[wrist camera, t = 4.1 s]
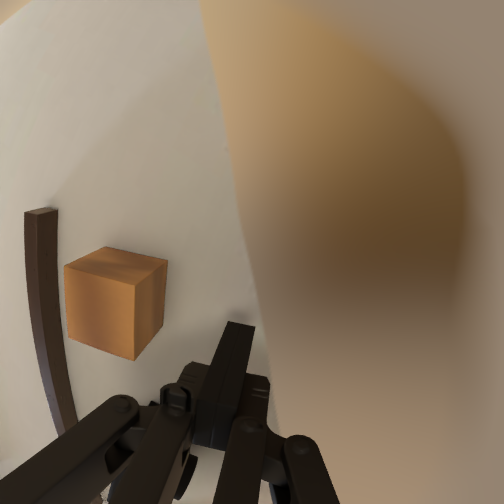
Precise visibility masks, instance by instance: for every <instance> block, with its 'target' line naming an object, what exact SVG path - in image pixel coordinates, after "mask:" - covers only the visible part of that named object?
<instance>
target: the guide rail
mask: <svg viewBox="0 0 504 504" xmlns="http://www.w3.org/2000/svg"><path fill="white" fill-rule="evenodd" d="M57 213H58V210H56V209H51V208H40V209H36V210H31V211H27V212H24V244H25V267H26V281H27V292H28V301H29V310H30V317H31V324H32V331H33V337H34V343H35V348H36V354H37V359H38V364H39V368H40V373H41V377H42V381H43V386H44V390H45V393H46V397H47V401H48V405H49V408H50V412H51V415H52V418H53V422H54V425H55V428H56V431H57V434H58V437H59V436H61V435H62V434H63V433H65V432H66V431H67V430H69V429H70V428H71V427H73V426H74V425H75V424H77V423H78V420H77V416H76V412H75V407H74V403H73V398H72V393H71V388H70V383H69V377H68V372H67V366H66V359H65V353H64V345H63V338H62V329H61V319H60V308H59V295H58V276H57ZM102 503H103V501H102V498H101V496H100V494H99V495H98V496H97V497H96V498H95V499H94V500H93V501H92V502H91V503H90V504H102Z"/></svg>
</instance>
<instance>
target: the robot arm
mask: <svg viewBox="0 0 504 504" xmlns="http://www.w3.org/2000/svg"><path fill="white" fill-rule="evenodd" d="M254 331H255V327H254V326H249V325H245V324H240V323H235V322H230V321H228V322H227V325H226V327H225V330H224V332H223V335H222V337H221V339H220V342H219V344H218V347H217V349H216V352H215V354H214V357H213V359H212V362H211V364H210V366H209V365H205V364H201V363H197V362H193V361H192V362H191V363H189V364H188V365H186V366H185V367H184V369H183V371H182V373H181V375H180V377H179V379H178V381H177V383H170V384H167V385H165V386H163V387H162V388H161V389H160V405H157V406H139V404H138V402H137V401H136V400H135V399H134V398H133V397H130V396H128V395H115V396H113V397H111V398H109V399H108V400H106V401H105V402H104V403H103V404H101V405H100V406H99V407H97V408H96V409H95V410H93V411H92V412H91V413H90V414H88V415H87V416H86V417H84V418H83V419H82V420H80V421H79V422H78V423H77V424H75V425H74V426H73V427H71V428H70V429H69V430H67V431H66V432H65V433H63V434H62V435H61V436H59V437H58V438H57V439H55V440H54V441H53V442H51V443H50V444H49V445H47V446H46V447H45V448H43V449H42V450H41V451H39V452H38V453H37V454H35V455H34V456H33V457H31V458H30V459H29V460H27V461H26V462H25V463H23V464H22V465H20V466H19V467H18V468H16V469H15V470H14V471H12V472H11V473H10V474H8V475H7V476H5V477H4V478H3V479H1V480H0V504H90V503H91V502H92V501H93V500H94V499H95V498H96V497H97V496H98V495H99V494H100V493H101V492H102V491H103V490H104V489H105V488H106V487H107V486H108V485H109V484H110V483H111V482H112V481H113V480H114V479H115V478H116V477H117V476H118V475H119V474H120V473H121V472H122V471H123V470H124V469H125V468H126V467H127V466H128V467H127V468H126V470H125V472H124V474H123V476H122V478H121V480H120V482H119V484H118V486H117V488H116V490H115V491H114V493H113V495H112V497H111V499H110V501H109V503H108V504H172V501H173V498H174V495H175V493H176V490H177V487H178V484H179V481H180V479H181V476H182V473H183V470H184V467H185V464H186V462H187V459H188V456H189V453H190V445H191V442H192V439H193V442H192V444H196V445H200V446H204V447H208V448H213V449H217V450H222V451H226V452H225V456H224V460H223V464H222V468H221V472H220V476H219V480H218V484H217V488H216V492H215V496H214V500H213V503H212V504H258V499H259V492H260V484H261V479H262V480H264V481H267V482H269V488H270V492H271V497H272V501H273V504H340V503H339V500H338V498H337V495H336V492H335V490H334V487H333V484H332V482H331V479H330V477H329V474H328V471H327V469H326V466H325V464H324V461H323V458H322V456H321V453H320V451H319V448H318V446H317V444H316V443H315V441H314V440H312V439H311V438H309V437H306V436H304V435H293V436H290V437H288V438H287V439H286V438H284V437H281V436H279V435H277V434H275V433H274V432H272V431H271V430H270V429H269V427H268V425H267V411H268V402H269V392H270V383H269V381H268V379H267V377H265V376H260V375H255V374H249V373H246V370H247V365H248V361H249V356H250V351H251V346H252V341H253V336H254Z"/></svg>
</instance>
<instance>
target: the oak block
mask: <svg viewBox="0 0 504 504" xmlns="http://www.w3.org/2000/svg"><path fill="white" fill-rule="evenodd" d="M167 263H168V261H167V260H163V259H158V258H154V257H149V256H145V255H140V254H136V253H131V252H127V251H122V250H118V249H114V248H109V247H103V248H101V249H99V250H97V251H94V252H92V253H90V254H88V255H86V256H84V257H82V258H80V259H77V260H75V261H73V262H71V263H69V264H67V265H65V266H64V285H65V303H66V316H67V327H68V336H69V338H71V339H73V340H76V341H78V342H81V343H83V344H86V345H89V346H91V347H94V348H97V349H100V350H102V351H105V352H108V353H111V354H114V355H117V356H120V357H123V358H126V359H129V360H132V361H135V360H136V359H137V357H138V356H139V355H140V353H141V352H142V351H143V350H144V348H145V347H146V346H147V345H148V343H149V342H150V341H151V340H152V338H153V337H154V336H155V335H156V333H157V332H158V331H159V330H160V328H161V327H162V326H163V314H164V299H165V286H166V274H167Z"/></svg>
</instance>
